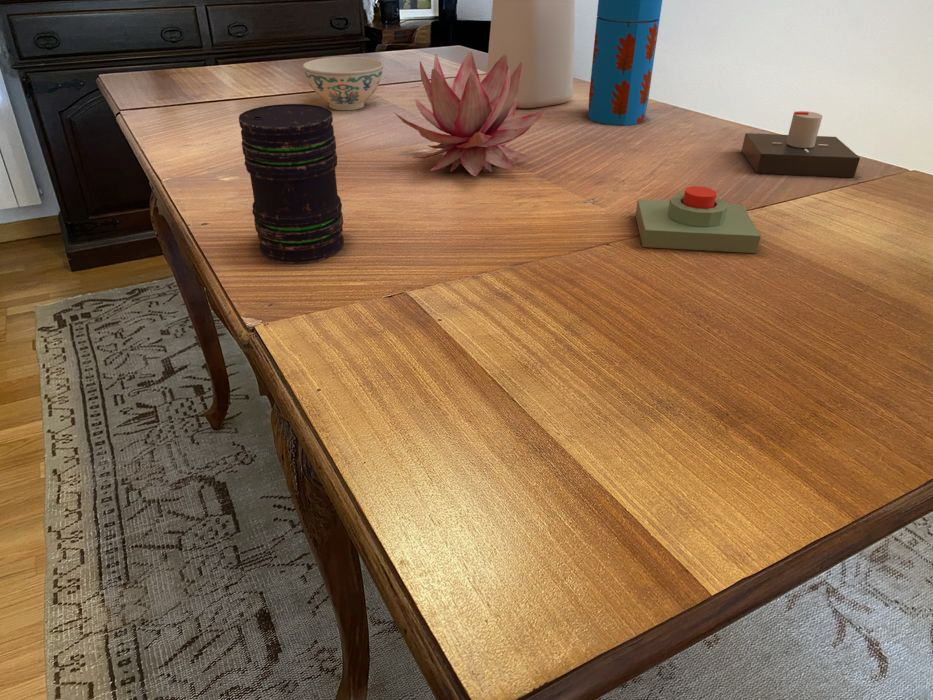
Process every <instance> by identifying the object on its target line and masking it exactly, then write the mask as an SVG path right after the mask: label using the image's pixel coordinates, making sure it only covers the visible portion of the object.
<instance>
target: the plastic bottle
mask: <svg viewBox="0 0 933 700" xmlns="http://www.w3.org/2000/svg"><path fill="white" fill-rule="evenodd" d="M491 6H492V7H491V19H490V27H489V28H490V29H489V40H488V53H487V63H486V74H485V76H486V75H487V74H488V73H489V71H490V70H491V69H492V68H493V66H494V65H495V64H496V62H497V61H498V60H499V59H500V58H501V57H502V56H503V55H506V56H507V63H508V69H510V76H511V75H512V74H513V72H514V71H515V69H516V68H517V67H518V65H519V64H520V62H521V61H522V72H521V79H520V83H519V88H518V92H517V95H516V97H517V98H518V101H517V105H516V109H517V108H518V109H537V108H543V107H548V106H554V105H560V104H561V105H562V104H565V103H568V102H569V101H571V99H572V98H573V95H574V71H575V70H574V69H575V68H574V67H575V66H574V65H575V23H576V22H575V21H576V20H575V19H576V17H575V16H576V0H492V5H491Z"/></svg>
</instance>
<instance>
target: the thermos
mask: <svg viewBox="0 0 933 700" xmlns="http://www.w3.org/2000/svg"><path fill="white" fill-rule="evenodd" d="M662 6H663V0H598V2H597V10H596V11H597V12H596V19H595V21H596V23H595V31H594V41H593V42H594V43H593V51H592V61H591V63H592V64H591V72H590V73H591V74H590V82H589V93H588V111H587V113H588V114H587V115H588V116H587V118H588V119H589V120H591V121H593V122H596V123H599V124H604V125H611V126H634V125H638V124H641V123H643V122H644V121H645V119H646V113H647V109H648V103H649V99H650V98H649V97H650V91H651V84H652V78H653V77H652V76H653V69H654V62H655V55H656V47H657V42H658V34H659V28H660V27H659V26H660V20H661V19H660V18H661V15H662V13H661V12H662Z"/></svg>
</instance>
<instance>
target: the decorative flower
mask: <svg viewBox="0 0 933 700" xmlns="http://www.w3.org/2000/svg"><path fill="white" fill-rule="evenodd" d="M433 63H434V64H433V68H432V69H431V74H430V79H429V77H428V76H427V75H428V74H427V73H426V71H425V69H424V66H423V64H422V61H420V60H419V71H420V80H421V83H422V85H423V88H424V91H425V94H426V96H427V98H428V101H429V103H430V105H431V110H430V109H428V108H427V107H426V106H425V105H423V104H422V103H421V102H420V101H419V100H418V99H417V98H413V99H414V102H415V105H416V107H417V109H418V111H419V113H420V114H421V115H422V116H423V118H424V119H425V120H426V121H427V122H429V123H430V124H431V125H432V126H433V127H435V128H436V129H438V130H439V131H440V132H437V131H433V130H430V129H427V128H424V127H422V126H420V125H417V124H415V123H414V122H411V121H408V120H407V119H405V118H403V117H402V116H400V115H399V114H398V113H396V112H394V115H395V116H397V117H398V119H399V120H401V122H402V123H403V124H405V125H407V126H408V127H410V128H413V129H414V130H416V131H418V133H419V135H420V137H422V138H424V139H426V140H427V141H430V142H432V143H437V144H436V145H430V144H427V147H430V148H432V149H433V150H434V149H438V150H437V151H435V152H430V153H427V154H424V155H419V156H412V159H421V160H423V159H424V160H426V159H430V158H433V157H435V156H440V155H442V154H443V155H442V156H441V158H440V159H439V160H438V162H437V163H436V164H435V165H434V166H433V167H432V168H431V169H430V170H429V171H431V172H432V171H436V170H442V169H443V170H444V168H447V167H448V166H449V165H451V166H450V171H449V173H451V172H453V171H454V170H456V169H457V168H458V167H459V166H460V165H462V166H463V167H464V168H465V170H466V171H467V172H468V173H469V174H470V175H471V176H474V177H476V176H478V175H479V173H480V172H481V170H483V168H485V169H486V170H488V171H490V172H491V173H492V172H493V170H492V169H493V168H492V165H494V166H496V167H498V168H502V169H509V170H516V169H517V167H516V166H515V164H514V163H513V162H512V161H511V160H510V158H512V159H515V158H522V157H524V158H525V157H528V155H526V154H525V153H522V152H520V151H517V150H515V149H512V148H510V147H507V146H506V144H507V143H510V142H512V141H514V140H515V139H517V138H519V137H521V136H523V135H524V134H526V133H527V132H528V131H529V130H530V128H531V127H532V126H534V125H535V124H536V123H537V122H538V121H539V120H540V119H541V118H542V117H543V116H544V115H545V113H546V112H547V109H542V110H539V111H536V112H533V113H530V114H527V115H523V116H519V117H515V118H514V116H515V115H516V109H517V107H516V105H517V101H518V98H517V97H516V95H517V92H518V88H519V83H520V79H521V72H522V61H521V62H520V64H519V65H518V67H517V68H516V69H515V71H514V72H513V74H512V75H511V76H510V69H508V63H507V56H506V55H503V56H502V57H501V58H500V59H499V60H498V61H497V62H496V64H495V65H494V66H493V68H492V69H491V70H490V71H489V73H488V74H487V73H486V74H487V75H486V74H485V77H484V78H483V79H482V80H481V79H480V75H479V71H478V68H477V64H476V61H475V57H474V55H473V51H472V52H471V51H469V52H467V54H466V56H465V57H464V59H463V61H462V63H461V64H460V66H459V69H458V71H457V73H456V75H455V78H454V80H453V82H452V83H453V84H452V88H451V87H450V84H448V81H447V79H446V77H445V74H444V71H443V69H442V65H441V63H440V59H439V58H438V54H437V53H436V54H435V55H434V62H433ZM441 132H443V133H441Z"/></svg>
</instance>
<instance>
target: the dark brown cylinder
mask: <svg viewBox="0 0 933 700" xmlns="http://www.w3.org/2000/svg"><path fill="white" fill-rule="evenodd" d="M333 121H334V119H333V111H332V110H330V109H329V108H327V107H324V106H320V105H315V104H307V103H279V104H271V105H264V106H259V107H254V108H251V109H248V110H245V111H243V112H242V113H240V114H239V116H238V123H239V127H240V128H241V130H240V136H241V148H242V154H243V156H244V165H245V169H246V171H247V173H248V174H249V176H250V177H249V178H250V182H251V190H252V195H253V202H252V213H251V214H252V215H253V218H254V219H253V223H254V228H255V232H256V233H257V238H258V241H259V251H260V253H261V256H263V257H264V258H265V259H267V260H269V261H272V262H276V263H281V264H289V265H291V264H292V265H298V264H299V265H300V264H301V265H302V264H311V263H315V262H320V261H323V260H326V259H329V258H331V257H333V256H335V255H338V253H340V252H341V251H342V250H343V248H344V246H345V239H344V235H343V232H344V229H343V228H344V227H343V225H344V216H343V211H342V208H343V204H342V199H341V197H340V196H339V194H338V185H337V184H338V183H337V173H336V167H337V165H338V155H337V150H336V149H337V141H336V140H337V139H336V136H335V129H334V126H333V125H334V124H333Z"/></svg>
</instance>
